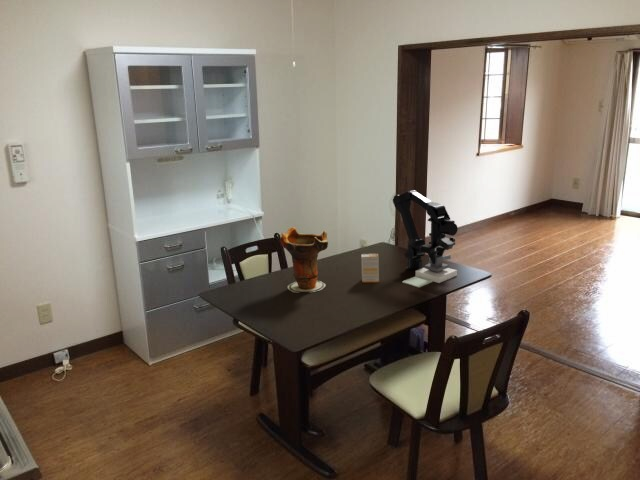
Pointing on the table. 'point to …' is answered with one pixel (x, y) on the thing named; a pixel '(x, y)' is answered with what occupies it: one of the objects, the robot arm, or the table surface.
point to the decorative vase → (304, 258)
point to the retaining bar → (443, 258)
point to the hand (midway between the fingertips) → (436, 262)
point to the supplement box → (370, 267)
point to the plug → (437, 265)
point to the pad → (417, 281)
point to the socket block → (436, 274)
